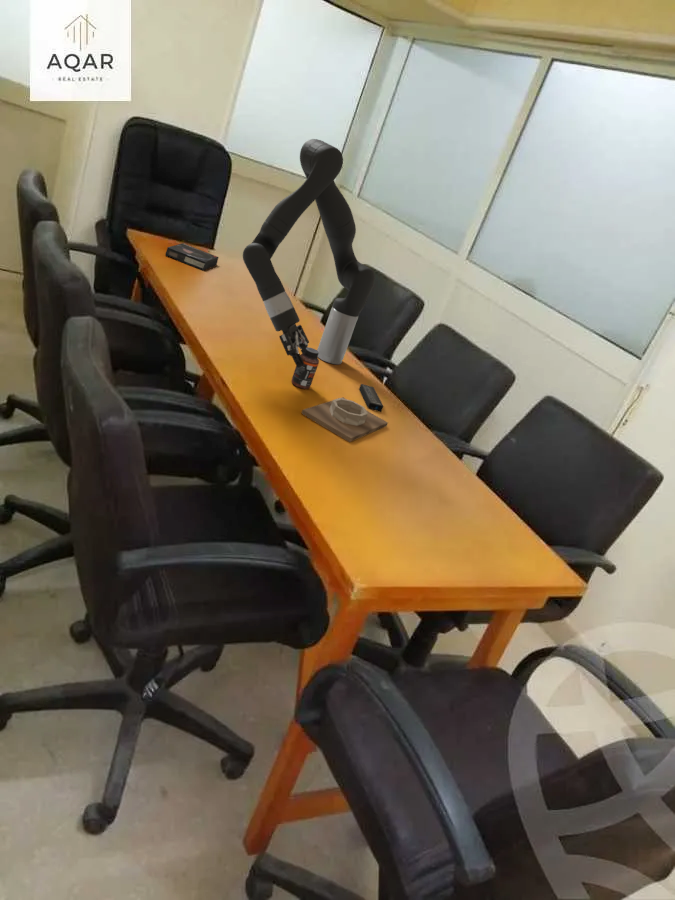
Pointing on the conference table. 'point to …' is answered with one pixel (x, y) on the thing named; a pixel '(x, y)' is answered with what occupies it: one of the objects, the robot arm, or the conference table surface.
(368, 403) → the multiport hub
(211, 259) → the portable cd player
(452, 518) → the conference table surface
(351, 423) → the ring stand
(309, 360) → the supplement bottle
